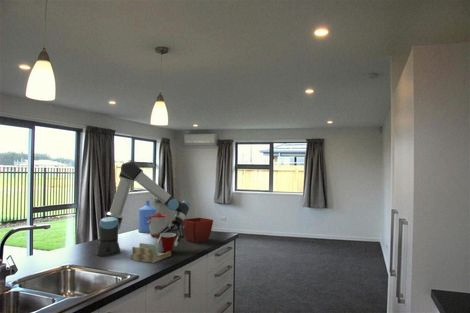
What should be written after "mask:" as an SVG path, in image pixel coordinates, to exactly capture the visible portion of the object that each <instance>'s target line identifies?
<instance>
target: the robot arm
mask: <svg viewBox="0 0 470 313" xmlns="http://www.w3.org/2000/svg"><path fill="white" fill-rule="evenodd" d="M118 177H119V181H118V185H117V188H116V190H115V191H116V192H115V193H114V197H113V201H112V203H111V205H110V209H109V211H107V213H106V214H105V215H104V217H102V218H101V219H100V220H99V242H98V246H97V249H96V255H97V256H101V257H110V256H116V255H119V254H121V248H120V244H119V230H120V229H121V224H122V221H123V218H124V216H123V211H124V208H125V206H126V202H127V199H128V197H129V193H130V191H131V187H132V184H133V183H134V182H135V183H137V184H138V185H140V186H142V188H144V189H145V190H146V191H147V192H149V193H150V195H152V196H153V197H155V198H156V199H157V200H159V201H160V202H161V203H162V204H163V205H164V206H166V207H167V208H168V209H169V210H171V211H175V215H174V217H173V219H172V220H171V223H170V224H169V223H167V225H166V226H165V227H164V228H163V229H162V230H161V231H160V232H159V233H158V234H159V235H160V234H162V233H172V232H177V233H176V234H177V235H178V236H177V235H176V236H177V237H176V238H175V240H174V244H173V246H174V247H175V248H176V247H177V246H178V243H180V241H181V240H182V238H183V239H184V238H185V235H184V225H182V224H183V221H184V219H186V217H187V215H188V212H189V211H190V208H191V203H190V202H189V201H187V200H183V201H182V200H181V201H180V200H179V199H176V198H175V197H174V196H172V195H171V194H169V192H168V191H166V190H165V189H163V188H162V187H161V186H160V185H159V184H157V182H155V181H154V180H152V178H151V177H149V176H148V175H146V174H145V173H144V170H143V169H142V168H141V167H140V166H139V164H138V162H136V161H134V160H131V159H129V160H124V162H122V164H121V166H120V172H119V175H118ZM157 238H158V240H157V242H156V243H157V245H158V246H159V245H161V244H162V239H161V236H159V237H157Z"/></svg>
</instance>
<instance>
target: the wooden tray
mask: <svg viewBox="0 0 470 313" xmlns="http://www.w3.org/2000/svg"><path fill="white" fill-rule="evenodd" d="M131 252H132V253H131V254H130V260H131V261H139V262H145V263H152V264H153V263H157V262H159V261H161V260H164V259H167V258H169V257H171V256H172V252H171V251H169V252H164V253H163V252H158V256H156V257H153V249H147V248H139V247H136V246H132V247H131Z"/></svg>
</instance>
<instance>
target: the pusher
mask: <svg viewBox="0 0 470 313" xmlns="http://www.w3.org/2000/svg"><path fill="white" fill-rule="evenodd" d="M138 248H147V249H153V257H156V256H158V253H159V245H158V244H153V243H144V242H139V247H138Z"/></svg>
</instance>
